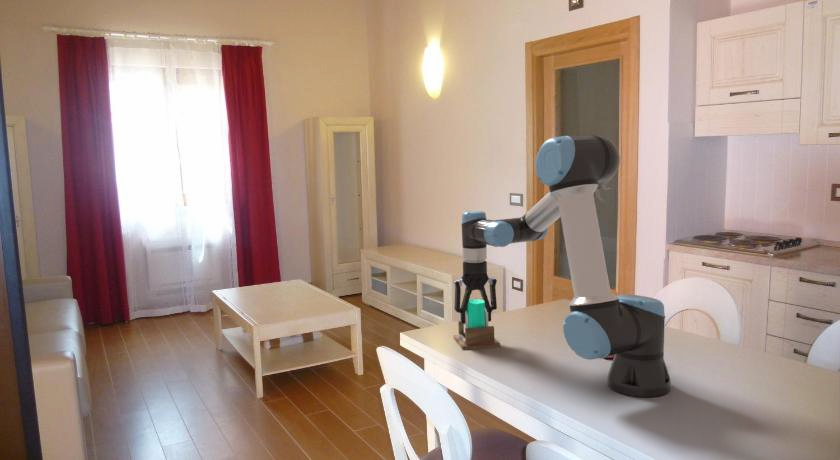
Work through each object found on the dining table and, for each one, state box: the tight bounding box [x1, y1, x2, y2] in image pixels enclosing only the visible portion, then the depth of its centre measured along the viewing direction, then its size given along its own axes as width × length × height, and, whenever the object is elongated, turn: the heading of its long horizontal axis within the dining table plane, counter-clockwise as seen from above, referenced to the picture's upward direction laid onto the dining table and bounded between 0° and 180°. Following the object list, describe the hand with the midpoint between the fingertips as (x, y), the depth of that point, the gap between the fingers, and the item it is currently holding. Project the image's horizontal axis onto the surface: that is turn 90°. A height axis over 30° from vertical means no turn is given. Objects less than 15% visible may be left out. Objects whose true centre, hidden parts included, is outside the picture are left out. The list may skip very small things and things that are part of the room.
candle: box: [466, 296, 486, 328], centre depth 196 cm, size 6×6×12 cm
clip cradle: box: [453, 320, 501, 350], centre depth 197 cm, size 12×12×6 cm
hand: (476, 332), depth 197 cm, fingers closed on candle, 6 cm apart
